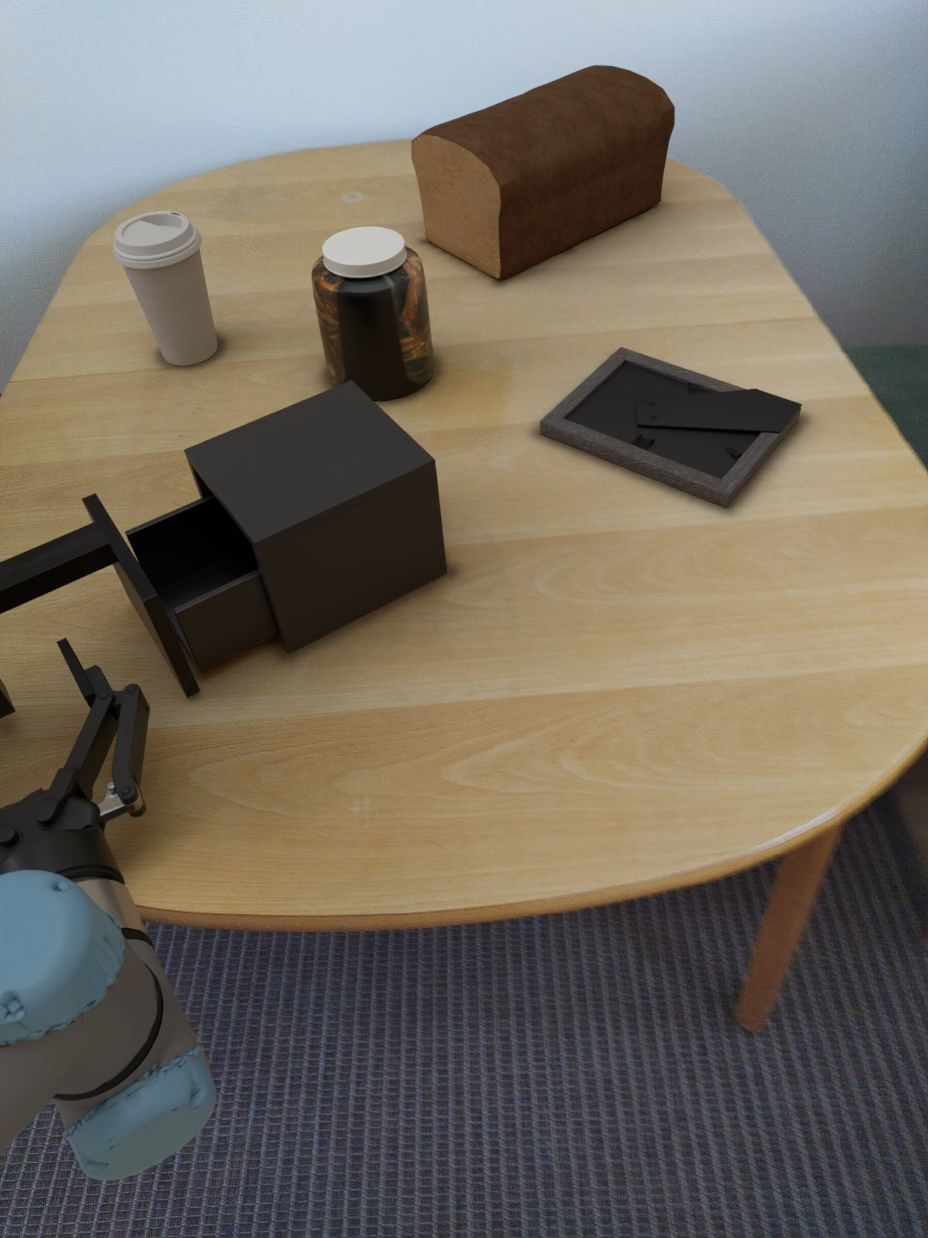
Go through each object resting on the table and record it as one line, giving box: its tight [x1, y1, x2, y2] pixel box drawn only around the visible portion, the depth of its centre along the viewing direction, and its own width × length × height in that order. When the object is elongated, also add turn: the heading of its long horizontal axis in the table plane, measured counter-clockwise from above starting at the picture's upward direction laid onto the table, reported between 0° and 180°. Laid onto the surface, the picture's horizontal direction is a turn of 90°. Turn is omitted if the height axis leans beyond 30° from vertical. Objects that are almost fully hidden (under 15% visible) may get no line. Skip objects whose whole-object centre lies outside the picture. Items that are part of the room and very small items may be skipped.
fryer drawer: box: [0, 493, 279, 720], centre depth 76 cm, size 30×14×13 cm, turn 123°
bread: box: [410, 64, 676, 280], centre depth 122 cm, size 18×30×16 cm, turn 129°
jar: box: [310, 225, 435, 401], centre depth 101 cm, size 12×12×15 cm
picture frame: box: [539, 346, 803, 509], centre depth 96 cm, size 16×2×21 cm
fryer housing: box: [183, 380, 448, 654], centre depth 82 cm, size 16×14×13 cm
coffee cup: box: [112, 210, 219, 367], centre depth 107 cm, size 10×10×15 cm
